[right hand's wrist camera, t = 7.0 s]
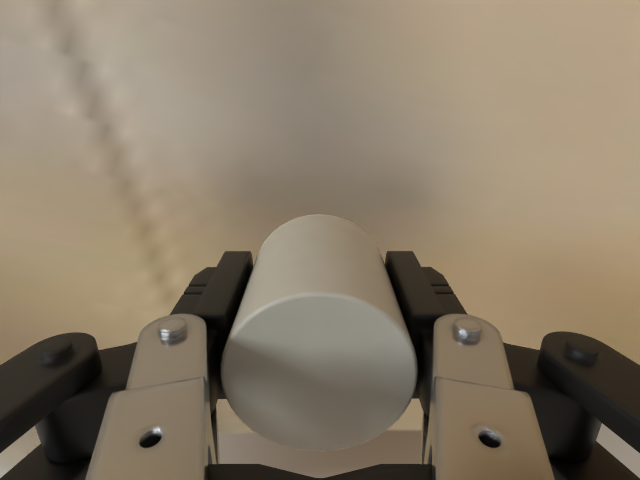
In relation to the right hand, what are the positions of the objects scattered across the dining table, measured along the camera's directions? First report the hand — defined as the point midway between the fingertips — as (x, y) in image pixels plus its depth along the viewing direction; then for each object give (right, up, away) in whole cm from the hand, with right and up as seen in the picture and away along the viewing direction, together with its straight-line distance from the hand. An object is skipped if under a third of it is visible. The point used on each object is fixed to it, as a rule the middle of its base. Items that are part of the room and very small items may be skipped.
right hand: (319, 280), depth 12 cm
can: (0, 0, 0) cm, 0 cm away
